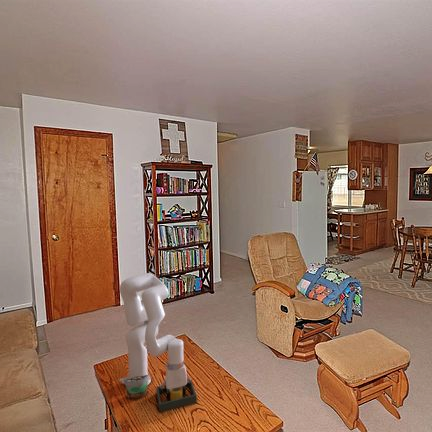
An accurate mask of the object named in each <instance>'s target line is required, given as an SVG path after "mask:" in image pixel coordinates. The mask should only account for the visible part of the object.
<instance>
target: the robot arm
mask: <svg viewBox="0 0 432 432" xmlns="http://www.w3.org/2000/svg"><path fill="white" fill-rule="evenodd" d="M139 292H141V295H139V294H138V293H139ZM119 293H120V296H121V298H122V302H123V309H124V314H125V320H126V323H127V325H128V326H129V327H133V328H131V329H130V330H128V332H126V335H125V342H126V345H127V346H126V347H127V356H128V358H127V361H128V374H127V376H125V377H122V378H119V383H121V384H122V385H125V384H124V379H125V380H127V379H131V378H134V377H138V376H145V375H148V374H149V371H148V369H149V368H148V367H149V366H148V353H149V354H150V356H152V357H153V358H158V357H160V356H162V355H163V354H166V353H167V363H165V364H164V366H165V368H166V371H165V380H164V381H162V383H160V384H159V386H160V388H161V389H162V390H163V391H165V392H166V393H165V394H166V399H167V402H168V401H170V392H169V391H170V389H173V388H178V387H182V386H183V398H184V397H186V395H187V394H186V393H187V387H188V385H189V384H190V383H191V381H192V382H193V379H192V377H190V376H188V373H187V367H186V364H185V362H184V361H185V360H184V359H185V358H184V349H185V348H184V347H185V346H184V341H183V339H180V338H176V337H175V336H174V335H172V334H166V335H163V336H162V337H160V338H158V339H157V336H158V335H159V325H160V323H161V322H162V321H163V319H164V318H165V317H166V313H165V309H164V307H163V303H162V301H164V300H165V299H168V297H169V294H170V293H169V289H168V287H167V286H166V284H165V283H164V282H163V281H162V280H160V278H158V277H157V276H156V275H154V274H153V273H151V272H145V273H143V274H139V275H135V276H131V277H128V278H126V279H124V280H123V281H122V282H121V283H120V285H119ZM140 296H141V297H140ZM144 344H145V345H146V346H145V345H144ZM187 380H188V382H187ZM151 381H152V378H151V376H150V375H149V380H148V384H147V386H149V384H151ZM164 385H166V387H164ZM188 388H189V387H188Z"/></svg>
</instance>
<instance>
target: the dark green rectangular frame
mask: <svg viewBox="0 0 432 432" xmlns="http://www.w3.org/2000/svg"><path fill="white" fill-rule="evenodd" d="M187 382H188V380H187ZM164 387H166V384H165V385H164ZM182 387H183V386H182ZM187 388H189V389H190V392H191V395H188V396H185V397H183V398H180V399H176V400H172V401H168V400H167V401H164V402H162V401H161V395H162V394H166V392H165V391H163V390H162V389H161V388H160V385H158V386H156V398H157V405H158V411H159V413H162V412H165V411H166V412H167V411H170V410H174V409H177V408H182V407H185V406H186V407H187V406H188V405H193V404H197V393H196V389H195V386H194V384H193V380H192V381H191V383H190V384H189V385H188V387H187ZM187 388H186V389H187Z"/></svg>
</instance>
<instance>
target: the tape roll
mask: <svg viewBox="0 0 432 432" xmlns="http://www.w3.org/2000/svg"><path fill="white" fill-rule="evenodd" d="M169 392H170V401H172V400H176V399H180V398H184V397H183V387H178V388H173V389H170V391H169Z"/></svg>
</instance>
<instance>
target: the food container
mask: <svg viewBox="0 0 432 432" xmlns="http://www.w3.org/2000/svg"><path fill="white" fill-rule="evenodd" d="M149 376H150V373H148V375H145V376H138V377H134V378H131V379H127V380H125V379H124V384H123V385H125V391H126V397H127V399H129V400H140V399H142V398H144V396H146V395H147V393H148V385H149V384H148V380H149ZM147 384H148V385H147Z"/></svg>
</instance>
